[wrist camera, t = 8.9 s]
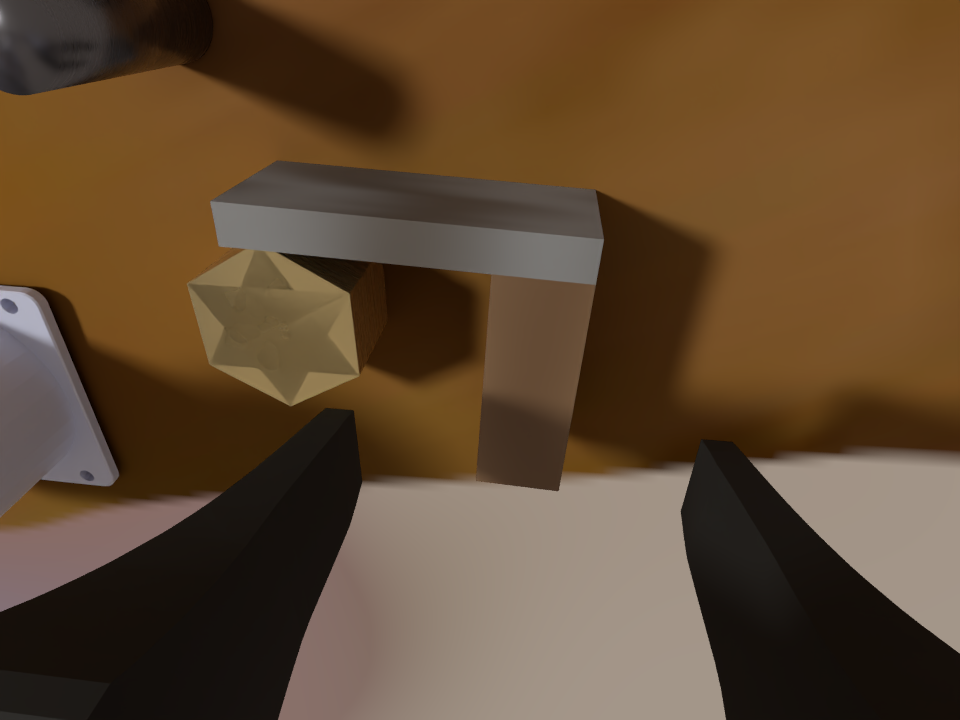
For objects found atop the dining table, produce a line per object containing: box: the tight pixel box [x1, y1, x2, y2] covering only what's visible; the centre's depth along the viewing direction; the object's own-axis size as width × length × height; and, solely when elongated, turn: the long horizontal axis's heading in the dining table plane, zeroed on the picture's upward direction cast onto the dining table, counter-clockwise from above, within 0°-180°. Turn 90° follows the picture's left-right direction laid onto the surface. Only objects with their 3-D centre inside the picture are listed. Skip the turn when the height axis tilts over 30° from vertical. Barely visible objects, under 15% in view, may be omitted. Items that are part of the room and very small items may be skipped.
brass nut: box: [187, 248, 388, 406], centre depth 16 cm, size 5×4×3 cm
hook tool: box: [210, 161, 604, 491], centre depth 15 cm, size 8×7×4 cm
